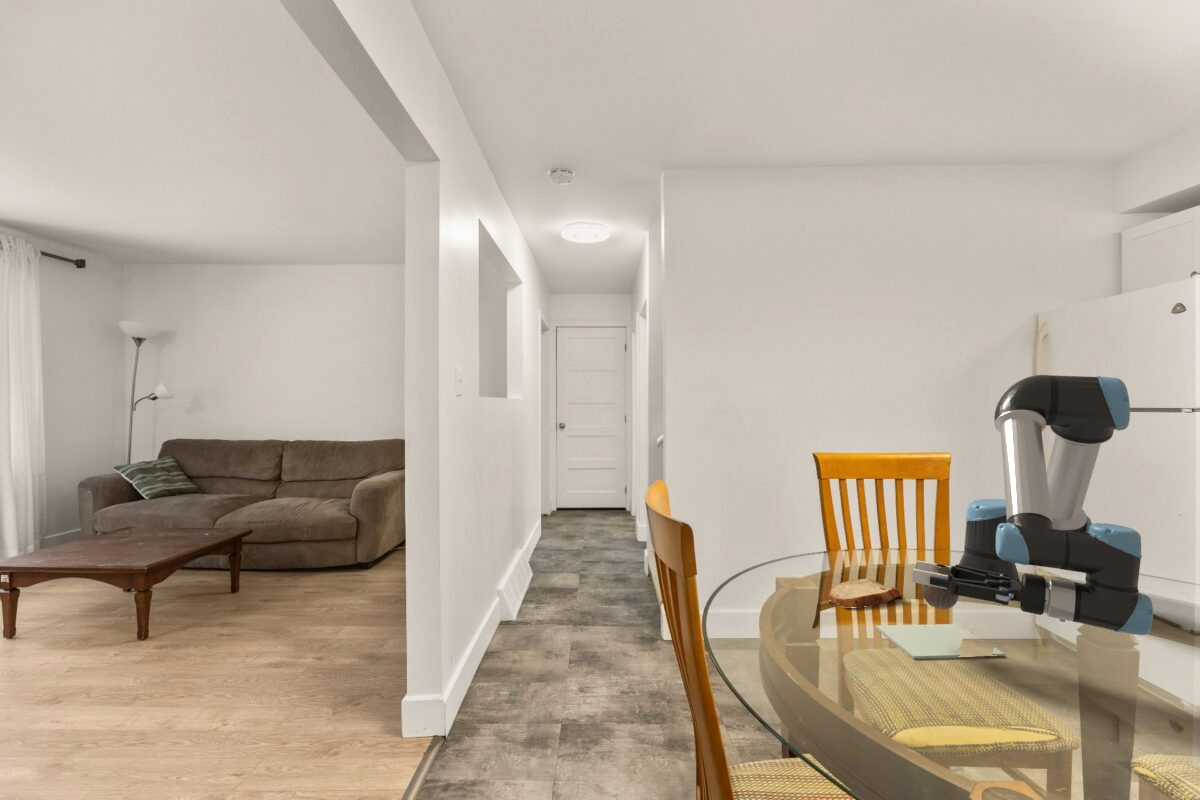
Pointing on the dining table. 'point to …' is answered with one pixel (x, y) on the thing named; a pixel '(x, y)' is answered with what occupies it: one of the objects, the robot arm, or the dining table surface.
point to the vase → (939, 591)
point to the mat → (927, 640)
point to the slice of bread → (862, 593)
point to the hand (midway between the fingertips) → (914, 570)
